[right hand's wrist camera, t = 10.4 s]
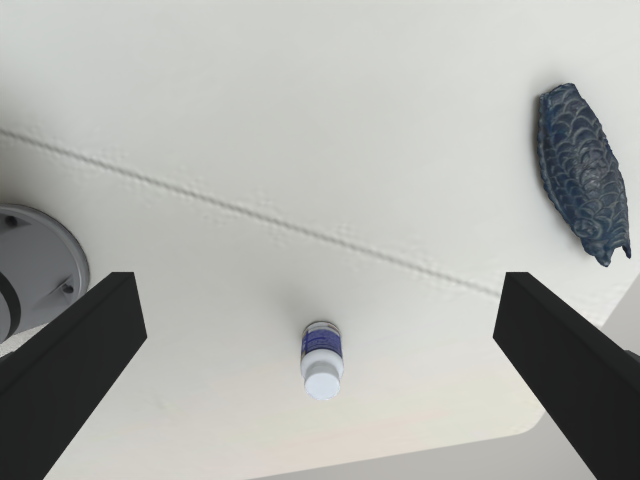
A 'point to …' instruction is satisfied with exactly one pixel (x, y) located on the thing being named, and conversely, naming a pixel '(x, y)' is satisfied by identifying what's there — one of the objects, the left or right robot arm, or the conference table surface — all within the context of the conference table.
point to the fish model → (582, 173)
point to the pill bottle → (322, 360)
